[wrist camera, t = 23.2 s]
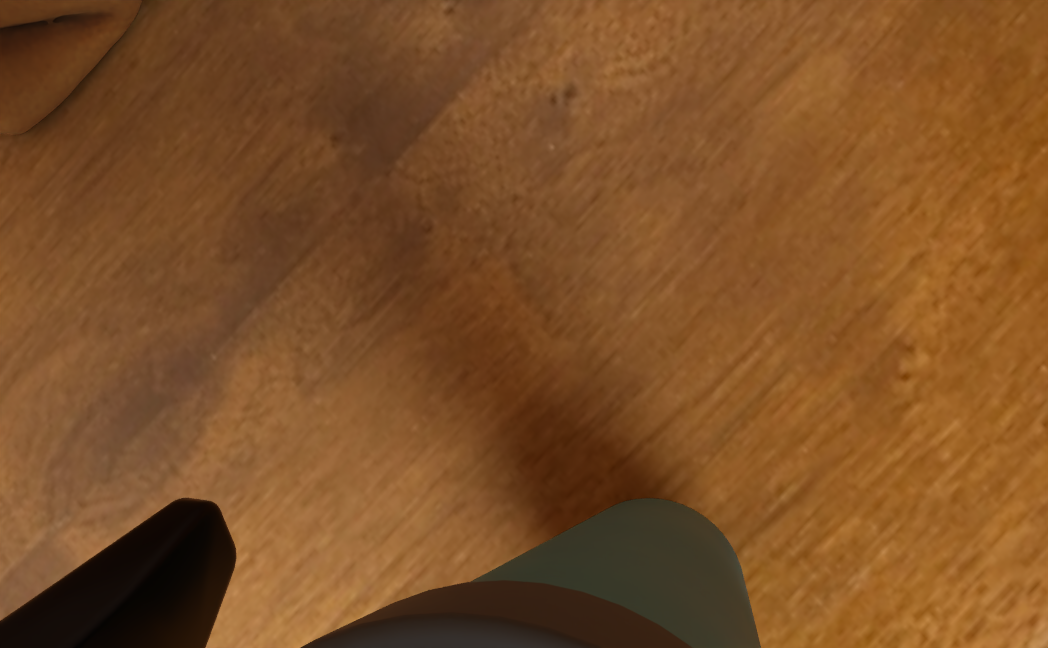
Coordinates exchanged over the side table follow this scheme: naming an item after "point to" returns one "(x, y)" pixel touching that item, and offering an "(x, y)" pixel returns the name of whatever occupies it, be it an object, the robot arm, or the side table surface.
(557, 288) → the side table surface
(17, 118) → the stuffed squirrel
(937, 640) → the side table surface
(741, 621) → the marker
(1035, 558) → the side table surface
